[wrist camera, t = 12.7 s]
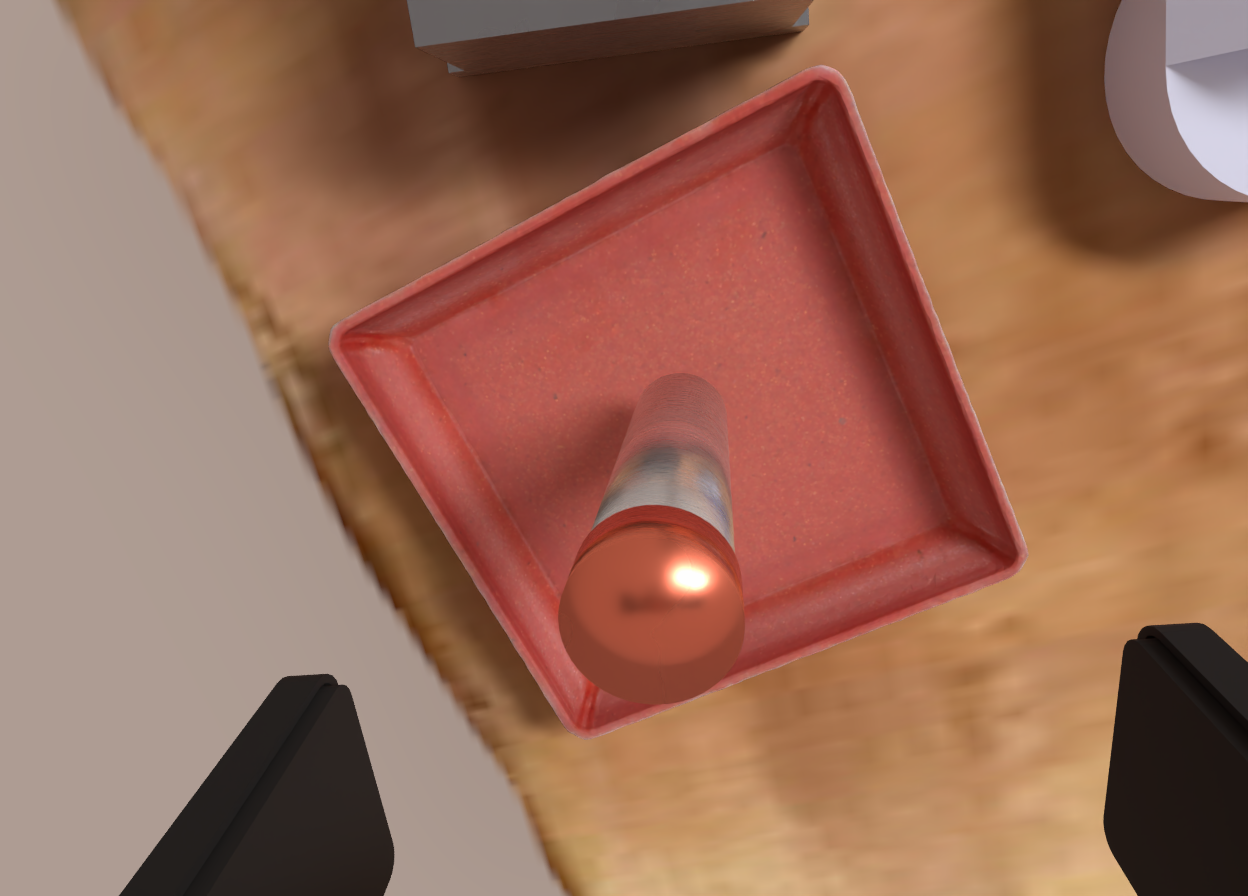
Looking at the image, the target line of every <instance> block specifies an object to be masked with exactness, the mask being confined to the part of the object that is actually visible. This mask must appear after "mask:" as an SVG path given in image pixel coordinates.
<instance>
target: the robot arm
mask: <svg viewBox="0 0 1248 896" xmlns="http://www.w3.org/2000/svg"><path fill="white" fill-rule="evenodd" d="M1104 831H1105V835H1106V839H1107V842H1108V845H1109V847H1110V850H1111V852H1112V854H1113V855H1114V857H1115V859H1116V861H1117V862H1118V864H1119V865H1120V867H1121V869H1122V870H1123V872H1124V874H1125V875H1126V877H1127V879H1128V880H1129V882H1130V884H1131V885H1132V887H1133V888H1134V890H1135V892H1136V893H1137V895H1138V896H1248V662H1247V661H1246V660H1244V659H1243V658H1242V657H1241V656H1240V655H1239V654H1238V653H1237V652H1236V651H1235V650H1234V649H1232V648H1231V647H1230V646H1229V645H1228V644H1227V643H1226V642H1225V641H1224V640H1223V639H1221V638H1220V637H1219V636H1218V635H1217V634H1216V633H1215V632H1214V631H1213V630H1212V629H1210V628H1209V627H1207V626H1206V625H1204V624H1201V623H1185V624H1168V625H1151V626H1146V627H1144V628H1142V629H1141V631H1140V632H1139V634H1138V638H1137V639H1133V640H1129V641H1127V643H1126V644H1125V646H1124V650H1123V657H1122V665H1121V674H1120V682H1119V691H1118V699H1117V707H1116V716H1115V724H1114V733H1113V741H1112V750H1111V758H1110V767H1109V775H1108V784H1107V792H1106V801H1105V809H1104ZM393 865H394V847H393V841H392V838H391V834H390V830H389V827H388V823H387V820H386V816H385V813H384V809H383V806H382V802H381V798H380V795H379V791H378V787H377V784H376V780H375V777H374V773H373V770H372V766H371V763H370V759H369V755H368V752H367V748H366V745H365V741H364V737H363V734H362V730H361V727H360V723H359V720H358V716H357V712H356V709H355V705H354V702H353V698H352V695H351V692H350V690H349V688H348V687H347V686H345V685H338V683H337V680H336V679H335V678H334V677H333V676H332V675H329V674H318V675H302V676H287V677H284V678H282V679H281V680H280V681H279V682H278V683H277V684H276V686H275V687H274V688H273V690H272V691H271V692H270V694H269V695H268V696H267V698H266V699H265V700H264V702H263V703H262V705H261V706H260V707H259V709H258V710H257V711H256V713H255V714H254V715H253V717H252V718H251V719H250V721H249V722H248V723H247V725H246V726H245V727H244V729H243V730H242V731H241V733H240V734H239V735H238V737H237V738H236V739H235V741H234V742H233V744H232V745H231V746H230V747H229V749H228V750H227V752H226V753H225V754H224V755H223V757H222V758H221V759H220V761H219V762H218V764H217V765H216V766H215V768H214V769H213V770H212V772H211V773H210V774H209V776H208V777H207V778H206V780H205V781H204V782H203V784H202V785H201V786H200V788H199V789H198V791H197V792H196V793H195V794H194V796H193V797H192V799H191V800H190V801H189V802H188V804H187V805H186V807H185V808H184V809H183V810H182V812H181V813H180V815H179V816H178V817H177V819H176V820H175V821H174V823H173V824H172V825H171V827H170V828H169V829H168V831H167V832H166V833H165V835H164V836H163V837H162V839H161V840H160V841H159V843H158V844H157V846H156V847H155V848H154V849H153V851H152V852H151V854H150V855H149V856H148V858H147V859H146V860H145V862H144V863H143V864H142V866H141V867H140V868H139V870H138V871H137V872H136V874H135V875H134V876H133V878H132V879H131V880H130V882H129V883H128V884H127V886H126V887H125V889H124V890H123V891H122V892H121V894H120V895H119V896H384V893H385V890H386V888H387V886H388V883H389V881H390V878H391V875H392V871H393Z"/></svg>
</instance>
